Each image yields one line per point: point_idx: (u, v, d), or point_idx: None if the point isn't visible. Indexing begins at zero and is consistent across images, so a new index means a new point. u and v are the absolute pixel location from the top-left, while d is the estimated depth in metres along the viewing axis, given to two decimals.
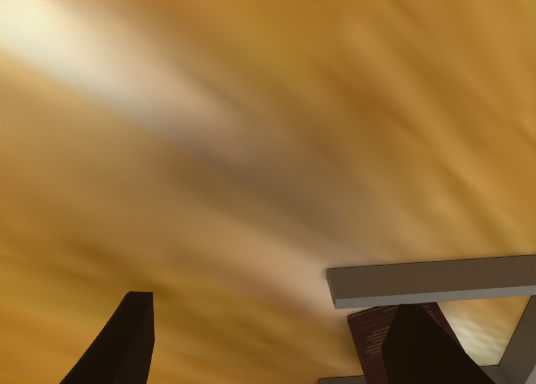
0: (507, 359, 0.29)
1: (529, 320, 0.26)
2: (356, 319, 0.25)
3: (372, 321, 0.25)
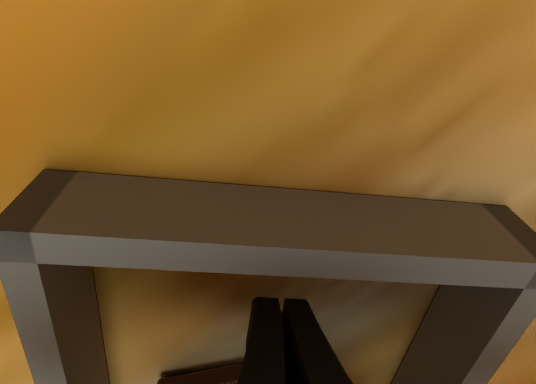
0: None
1: None
2: None
3: None
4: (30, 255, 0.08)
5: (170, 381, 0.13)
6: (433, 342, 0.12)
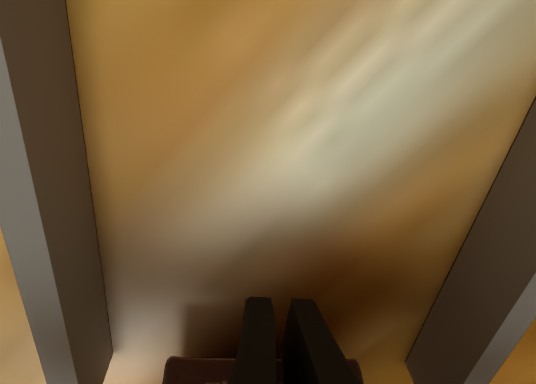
0: None
1: None
2: None
3: None
4: None
5: (185, 365, 0.11)
6: None
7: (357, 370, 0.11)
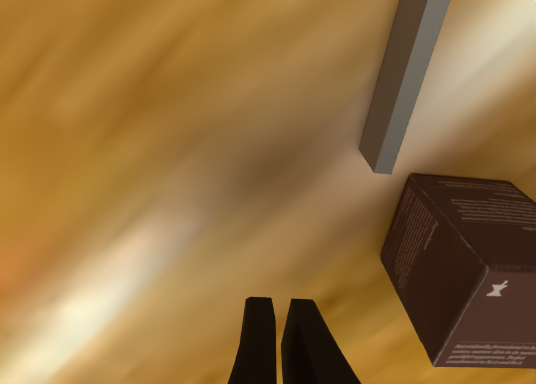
0: None
1: None
2: (384, 255, 0.22)
3: (391, 248, 0.21)
4: None
5: (422, 176, 0.19)
6: None
7: None
